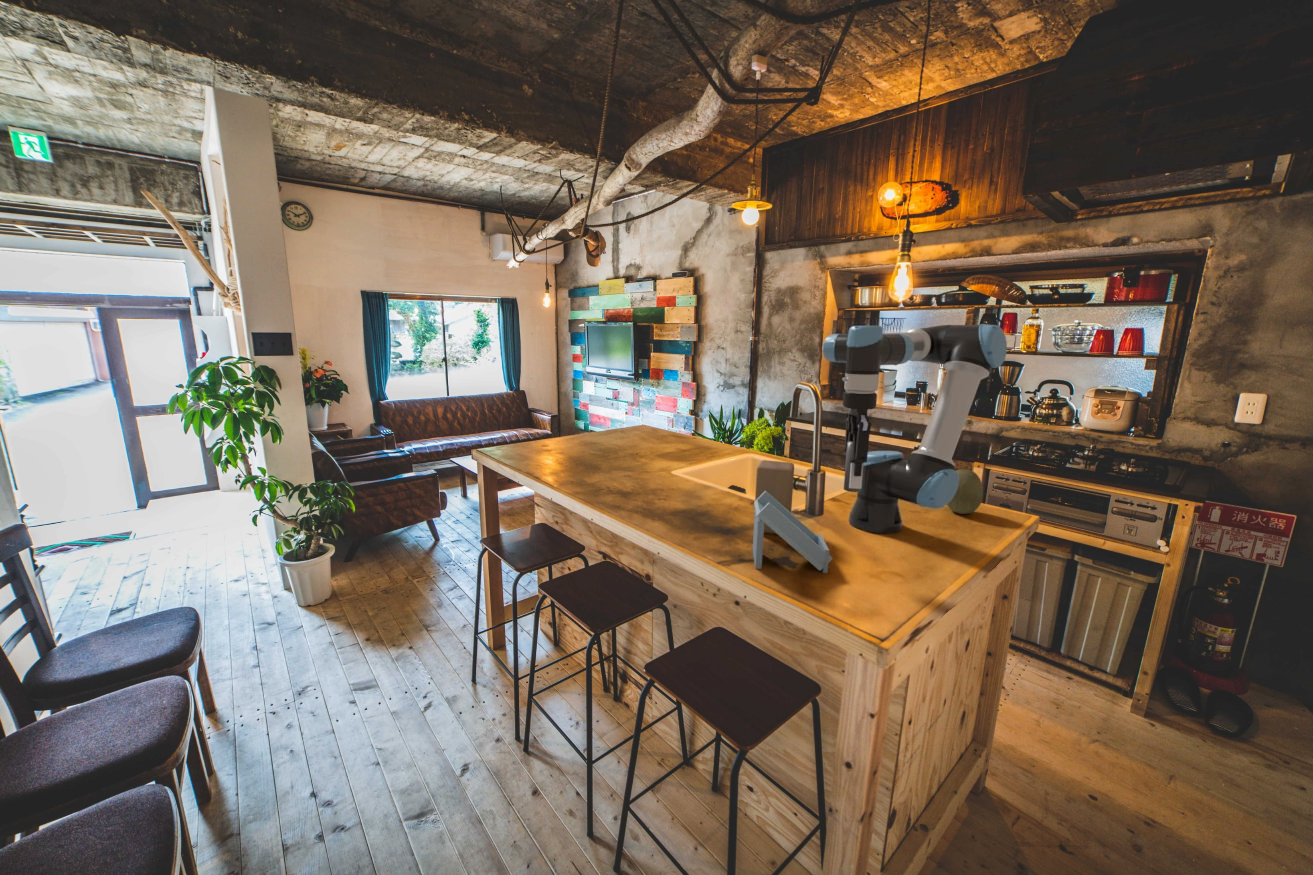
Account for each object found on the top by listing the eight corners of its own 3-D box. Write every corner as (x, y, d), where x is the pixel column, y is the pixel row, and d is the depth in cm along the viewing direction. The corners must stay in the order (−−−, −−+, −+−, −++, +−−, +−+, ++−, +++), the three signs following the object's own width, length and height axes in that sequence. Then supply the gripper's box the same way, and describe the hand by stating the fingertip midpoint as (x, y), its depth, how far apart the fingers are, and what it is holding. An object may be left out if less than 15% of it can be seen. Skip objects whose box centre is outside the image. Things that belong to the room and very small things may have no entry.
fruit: (935, 511, 171) (940, 468, 168) (947, 504, 178) (953, 463, 175) (973, 521, 163) (980, 475, 160) (984, 513, 170) (991, 469, 167)
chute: (822, 555, 136) (828, 493, 132) (831, 573, 125) (837, 506, 122) (751, 551, 138) (754, 490, 134) (754, 568, 127) (757, 502, 124)
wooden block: (790, 525, 157) (794, 462, 153) (787, 536, 148) (792, 470, 144) (757, 521, 160) (761, 459, 156) (753, 532, 151) (756, 466, 147)
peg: (858, 487, 129) (862, 441, 127) (862, 492, 125) (866, 444, 123) (841, 486, 129) (845, 440, 127) (845, 491, 126) (849, 444, 123)
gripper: (836, 387, 131) (829, 475, 136) (853, 395, 114) (845, 495, 119) (866, 387, 130) (859, 476, 135) (888, 396, 114) (878, 496, 118)
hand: (852, 485), depth 127 cm, fingers closed on peg, 4 cm apart
